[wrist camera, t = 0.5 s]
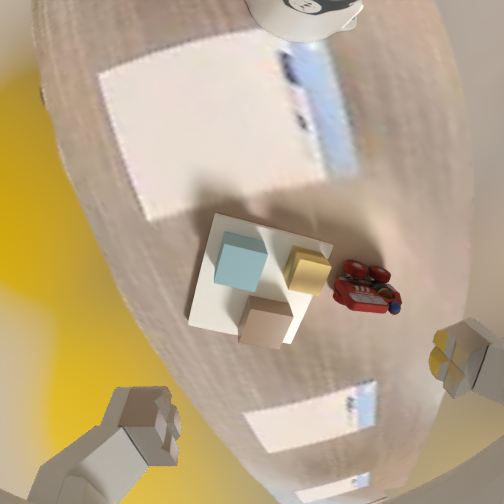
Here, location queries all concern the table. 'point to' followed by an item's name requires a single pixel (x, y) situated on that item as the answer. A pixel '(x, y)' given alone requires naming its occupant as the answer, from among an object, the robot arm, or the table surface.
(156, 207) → the table surface
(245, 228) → the board
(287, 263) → the ochre block
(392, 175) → the table surface
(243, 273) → the teal block
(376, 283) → the toy fire truck
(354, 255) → the table surface
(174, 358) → the table surface
